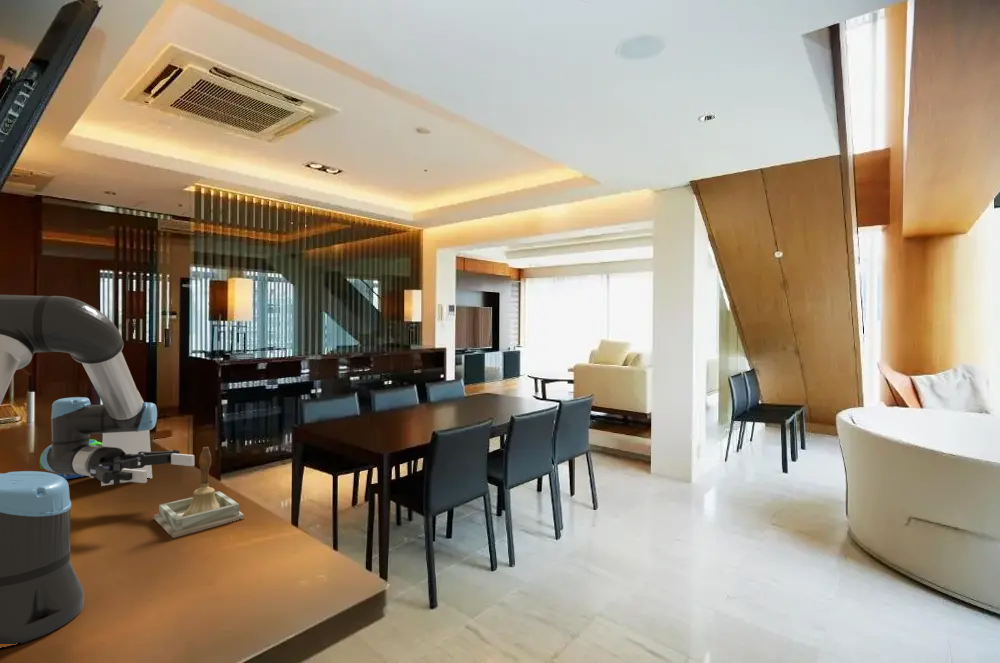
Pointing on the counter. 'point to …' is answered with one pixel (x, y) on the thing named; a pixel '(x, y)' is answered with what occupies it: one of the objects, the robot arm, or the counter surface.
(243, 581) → the counter surface
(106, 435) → the milk
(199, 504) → the hand bell
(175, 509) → the rectangular tray
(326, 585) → the counter surface
